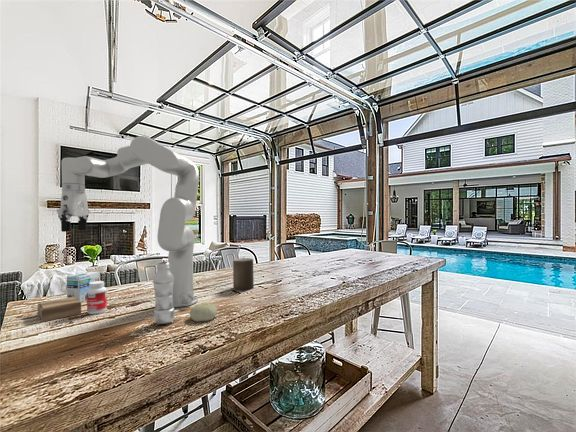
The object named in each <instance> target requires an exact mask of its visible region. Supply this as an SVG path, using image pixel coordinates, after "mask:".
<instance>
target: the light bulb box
mask: <svg viewBox="0 0 576 432" xmlns="http://www.w3.org/2000/svg"><path fill="white" fill-rule="evenodd" d="M95 281H101V271H88V270H87V271H85V272H80V273H76V274H71V275H67V276H66V298H68V297H75V298H76V299H77V300H79V301H80V302H81V303H82V302H85V301H87V290H88V289H90V287H89V283H90V282H95Z"/></svg>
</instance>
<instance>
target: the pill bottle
mask: <svg viewBox="0 0 576 432" xmlns="http://www.w3.org/2000/svg"><path fill="white" fill-rule="evenodd" d="M89 287H90V289H88V290H87V300H86V310H87V311H86V313H87V314H89V315H97V314H102V313H104V312H107V309H108V305H107V304H108V302H107V301H108V294H107V293H108V292H107V287H105V281H104V280H100V281H95V282H90V283H89Z"/></svg>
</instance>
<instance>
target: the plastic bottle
mask: <svg viewBox="0 0 576 432" xmlns="http://www.w3.org/2000/svg"><path fill="white" fill-rule="evenodd" d="M156 266H157V267H156V270H157V271H156V272H155V274H154V276H153V277H152V284H153V289H154V297H155V304H154V311H153V320H154V323H156V324H158V325H165V324H170V323H172V322H173V321H174V319H175V316H176V312H175V307H173V298H172V297H173V295H172V294H173V282H174V277H173V274H172V273H171V272H170V271H169V268H170V266H169V262H168V261H162V262H161V261H160V262H157V265H156Z"/></svg>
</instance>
